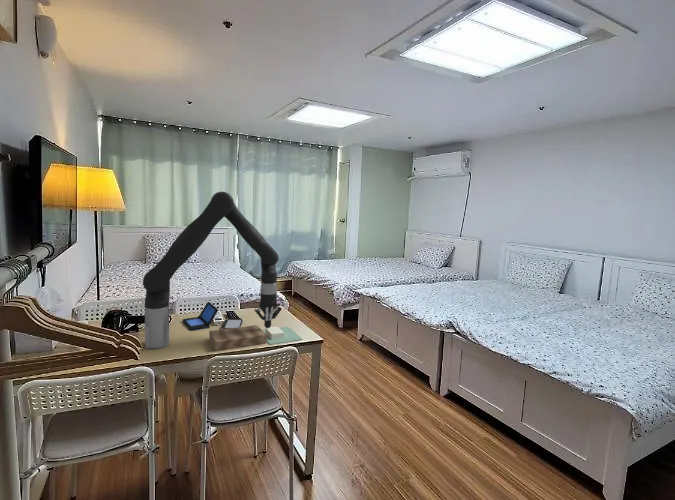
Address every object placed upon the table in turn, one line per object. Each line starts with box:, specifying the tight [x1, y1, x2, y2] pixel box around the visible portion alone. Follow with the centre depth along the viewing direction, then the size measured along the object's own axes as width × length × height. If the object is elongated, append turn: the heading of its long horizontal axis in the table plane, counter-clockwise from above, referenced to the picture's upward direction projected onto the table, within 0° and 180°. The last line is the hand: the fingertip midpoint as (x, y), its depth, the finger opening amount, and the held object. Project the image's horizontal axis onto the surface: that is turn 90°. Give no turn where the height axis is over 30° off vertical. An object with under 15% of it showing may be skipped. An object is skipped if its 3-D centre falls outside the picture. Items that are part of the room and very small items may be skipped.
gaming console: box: [220, 317, 244, 330], centre depth 183 cm, size 19×9×2 cm, turn 8°
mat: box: [261, 326, 304, 346], centre depth 175 cm, size 16×18×1 cm
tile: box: [264, 326, 284, 340], centre depth 174 cm, size 6×9×3 cm, turn 30°
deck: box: [208, 324, 267, 352], centre depth 165 cm, size 22×14×4 cm, turn 120°
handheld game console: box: [182, 301, 219, 331], centre depth 184 cm, size 16×13×9 cm
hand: (267, 327), depth 172 cm, fingers closed
